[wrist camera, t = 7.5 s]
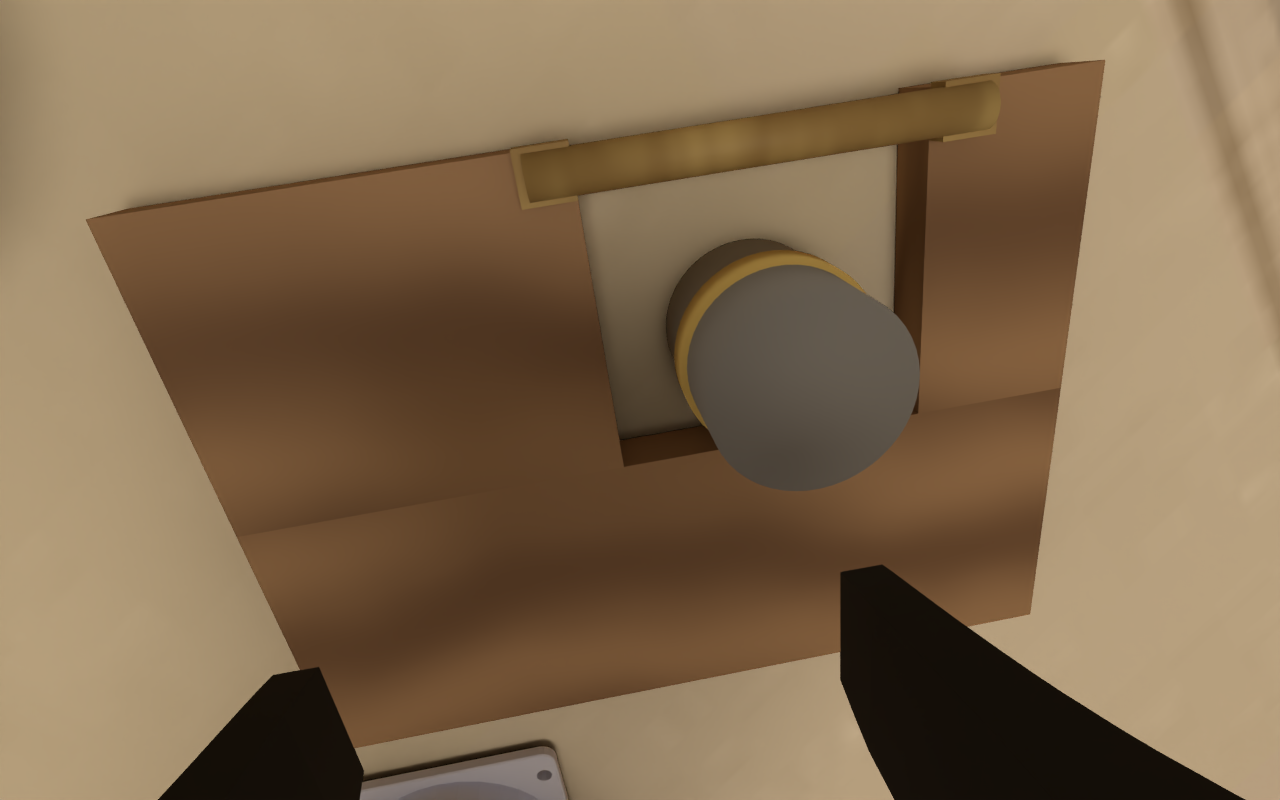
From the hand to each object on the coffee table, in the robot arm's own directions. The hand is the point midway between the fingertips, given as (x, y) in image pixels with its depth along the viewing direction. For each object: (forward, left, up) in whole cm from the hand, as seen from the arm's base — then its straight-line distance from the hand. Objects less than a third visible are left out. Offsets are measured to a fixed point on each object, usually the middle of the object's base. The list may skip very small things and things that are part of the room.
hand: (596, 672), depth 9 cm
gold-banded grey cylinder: (+1, -5, -10) cm, 11 cm away
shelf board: (-2, -2, -10) cm, 10 cm away
